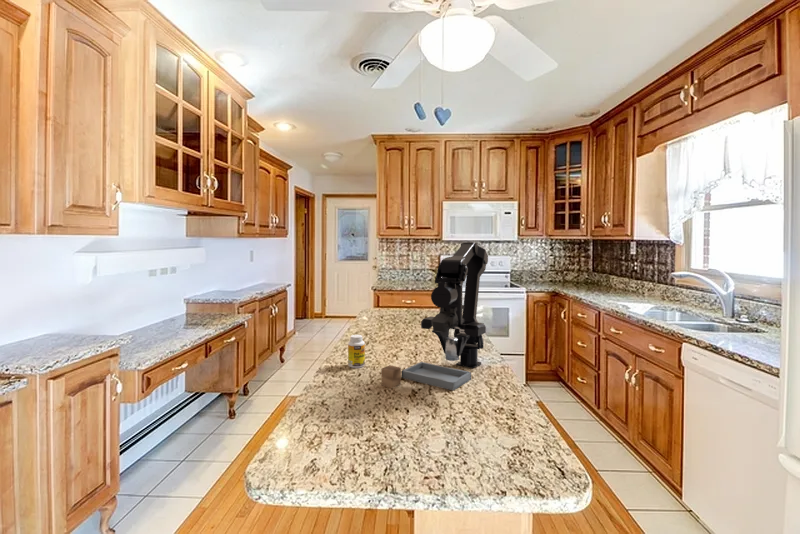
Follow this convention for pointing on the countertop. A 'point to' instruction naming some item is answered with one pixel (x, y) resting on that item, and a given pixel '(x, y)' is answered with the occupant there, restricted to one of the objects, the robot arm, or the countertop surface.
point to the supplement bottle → (356, 351)
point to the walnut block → (391, 376)
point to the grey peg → (451, 349)
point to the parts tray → (437, 375)
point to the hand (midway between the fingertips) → (452, 354)
